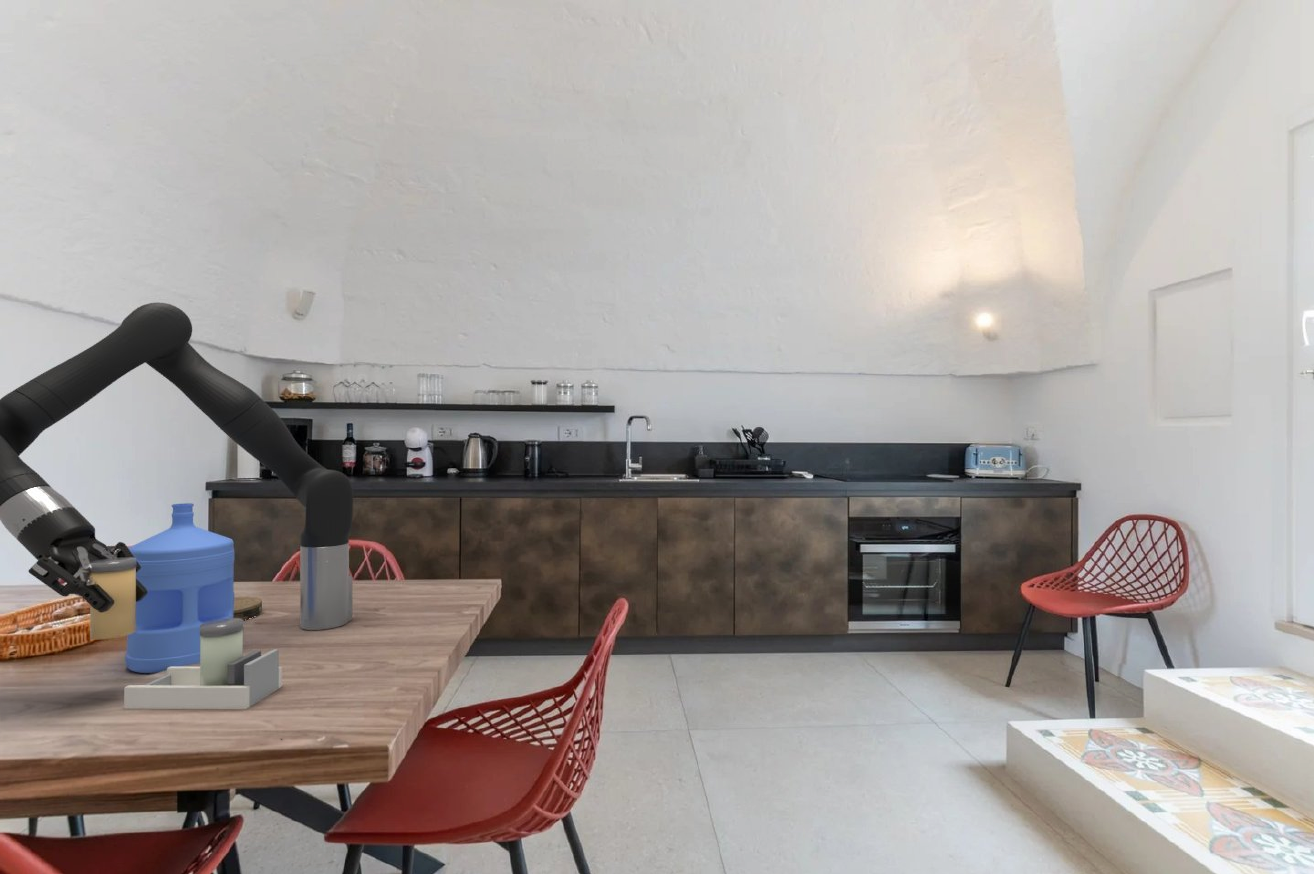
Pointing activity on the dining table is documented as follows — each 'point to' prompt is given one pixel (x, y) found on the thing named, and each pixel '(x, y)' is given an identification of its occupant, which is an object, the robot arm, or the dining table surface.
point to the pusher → (239, 669)
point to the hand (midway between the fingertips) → (125, 602)
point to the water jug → (179, 592)
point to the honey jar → (115, 597)
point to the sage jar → (219, 649)
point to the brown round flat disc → (246, 607)
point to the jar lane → (207, 688)
